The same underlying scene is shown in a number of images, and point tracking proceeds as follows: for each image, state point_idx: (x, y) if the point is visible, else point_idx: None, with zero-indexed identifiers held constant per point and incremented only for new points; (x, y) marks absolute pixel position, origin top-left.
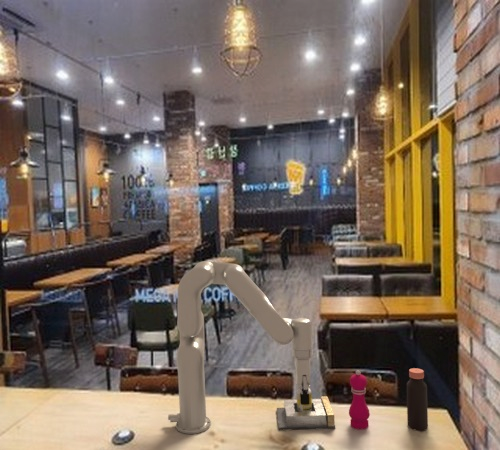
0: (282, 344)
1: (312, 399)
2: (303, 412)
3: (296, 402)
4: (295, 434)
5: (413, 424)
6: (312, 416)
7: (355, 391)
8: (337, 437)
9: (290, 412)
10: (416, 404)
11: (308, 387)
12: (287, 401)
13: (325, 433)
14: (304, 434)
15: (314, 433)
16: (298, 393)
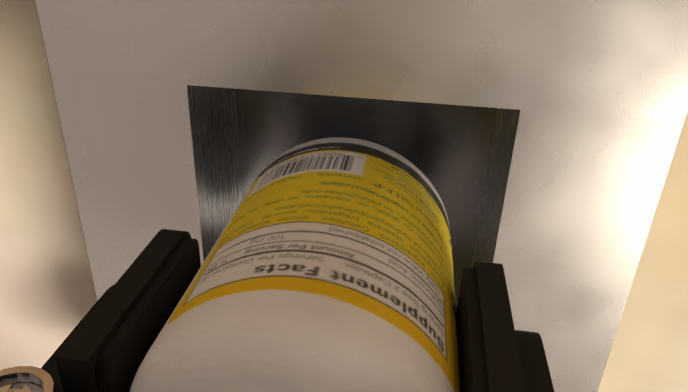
0: None
1: (580, 387)
2: (174, 198)
3: (536, 163)
4: (4, 3)
5: None
6: (99, 274)
7: None
8: (21, 345)
9: (161, 5)
10: None
11: None
12: (630, 9)
13: (71, 283)
14: (22, 101)
15: (57, 197)
16: (188, 316)
